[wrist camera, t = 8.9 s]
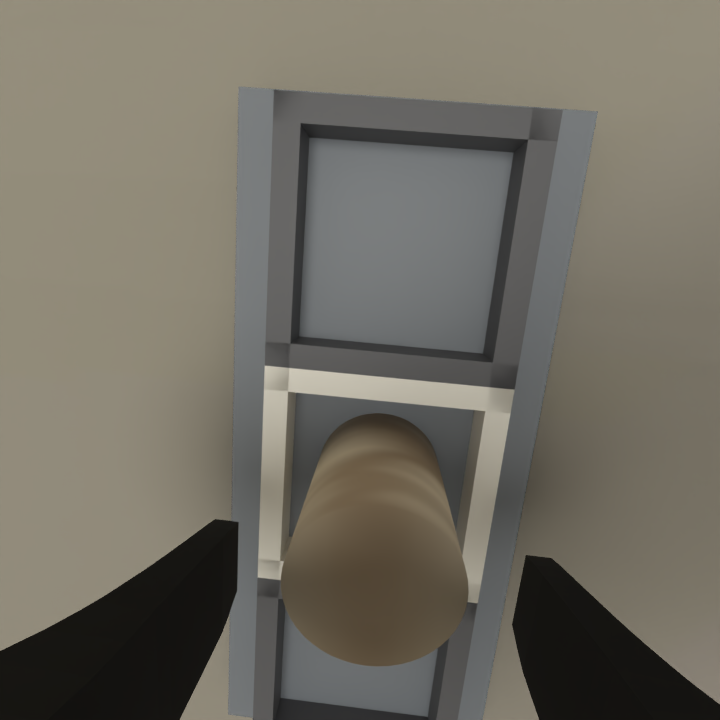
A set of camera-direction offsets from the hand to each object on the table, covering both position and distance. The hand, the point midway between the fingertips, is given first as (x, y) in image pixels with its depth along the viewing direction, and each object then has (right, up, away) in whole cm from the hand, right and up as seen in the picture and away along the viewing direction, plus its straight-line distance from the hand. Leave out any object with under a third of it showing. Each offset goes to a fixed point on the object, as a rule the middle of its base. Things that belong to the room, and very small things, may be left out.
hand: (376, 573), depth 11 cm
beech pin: (0, +1, +5) cm, 5 cm away
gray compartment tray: (0, +1, +6) cm, 7 cm away
